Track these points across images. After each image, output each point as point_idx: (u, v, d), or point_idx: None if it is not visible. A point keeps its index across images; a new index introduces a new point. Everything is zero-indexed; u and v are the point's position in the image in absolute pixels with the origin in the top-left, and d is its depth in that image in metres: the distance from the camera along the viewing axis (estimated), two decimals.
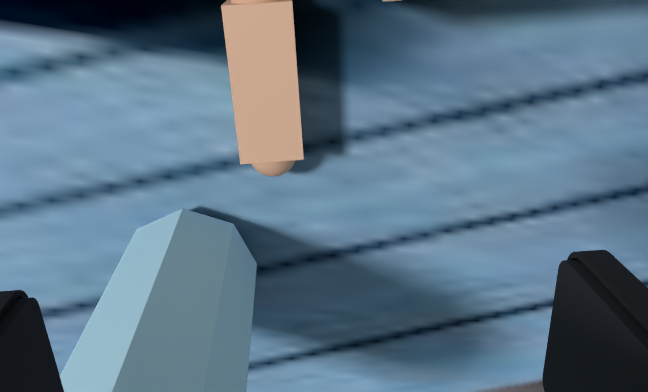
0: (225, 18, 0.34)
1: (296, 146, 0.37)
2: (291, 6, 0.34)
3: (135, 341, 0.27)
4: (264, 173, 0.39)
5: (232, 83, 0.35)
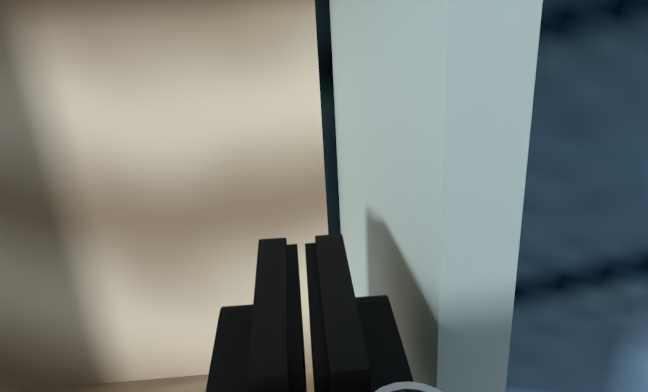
0: None
1: None
2: None
3: None
4: None
5: None
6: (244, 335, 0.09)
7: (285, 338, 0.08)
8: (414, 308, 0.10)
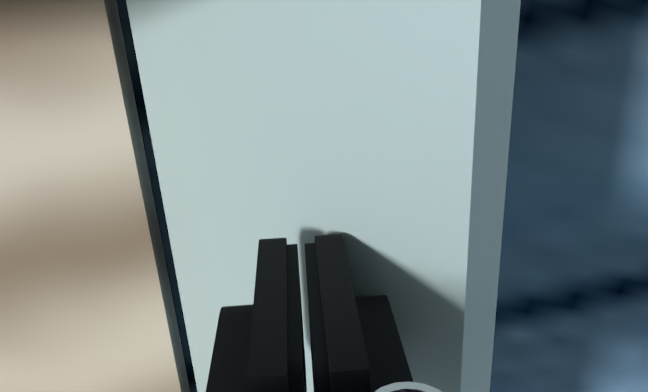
0: None
1: None
2: None
3: None
4: None
5: None
6: (244, 336, 0.09)
7: (285, 338, 0.08)
8: (403, 308, 0.10)
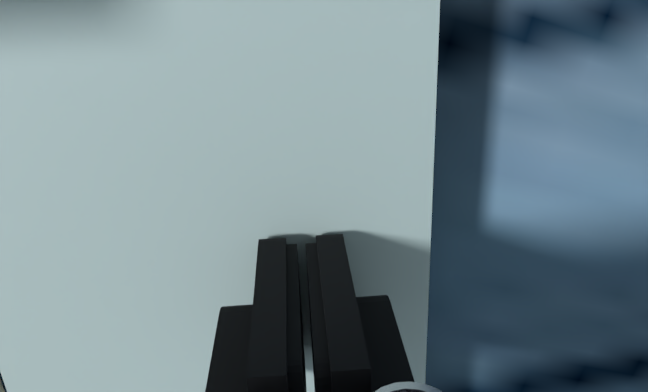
0: None
1: None
2: None
3: None
4: None
5: None
6: (244, 335, 0.09)
7: (285, 338, 0.08)
8: (368, 272, 0.11)
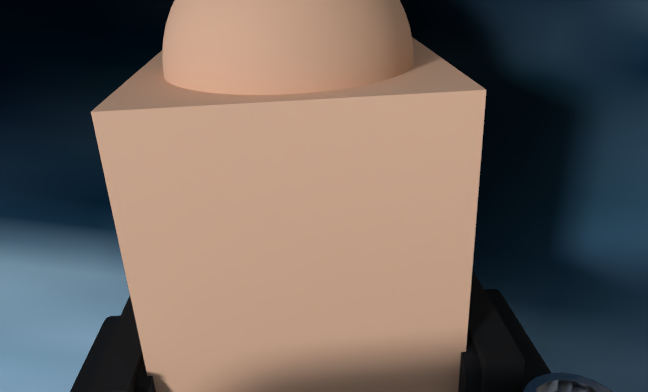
0: (119, 176, 0.06)
1: None
2: (477, 116, 0.06)
3: None
4: None
5: None
6: None
7: (139, 352, 0.08)
8: None
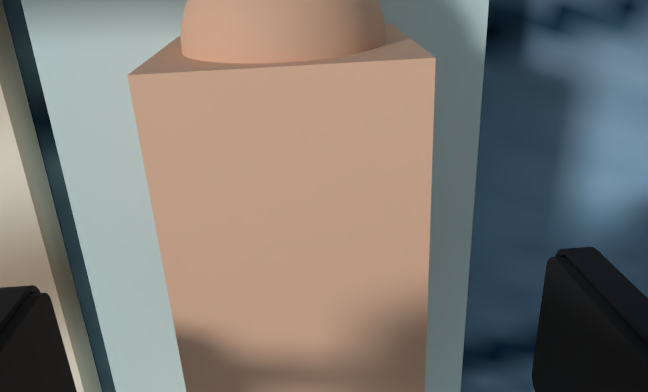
0: (148, 127, 0.08)
1: None
2: (429, 79, 0.08)
3: None
4: None
5: (185, 350, 0.10)
6: None
7: None
8: None
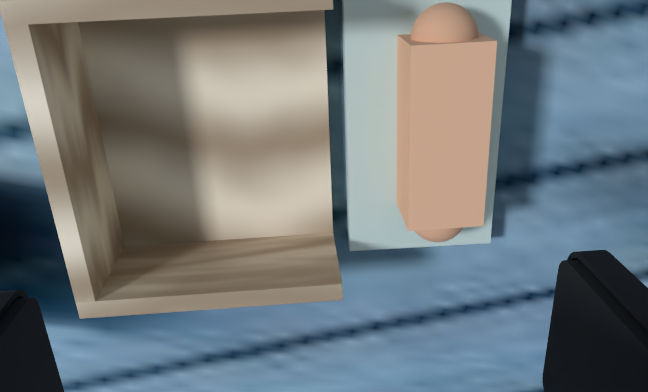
0: (413, 61, 0.27)
1: (477, 211, 0.31)
2: (495, 47, 0.27)
3: None
4: (429, 239, 0.33)
5: (411, 137, 0.29)
6: None
7: None
8: None
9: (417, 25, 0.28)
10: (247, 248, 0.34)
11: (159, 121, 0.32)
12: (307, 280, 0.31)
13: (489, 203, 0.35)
